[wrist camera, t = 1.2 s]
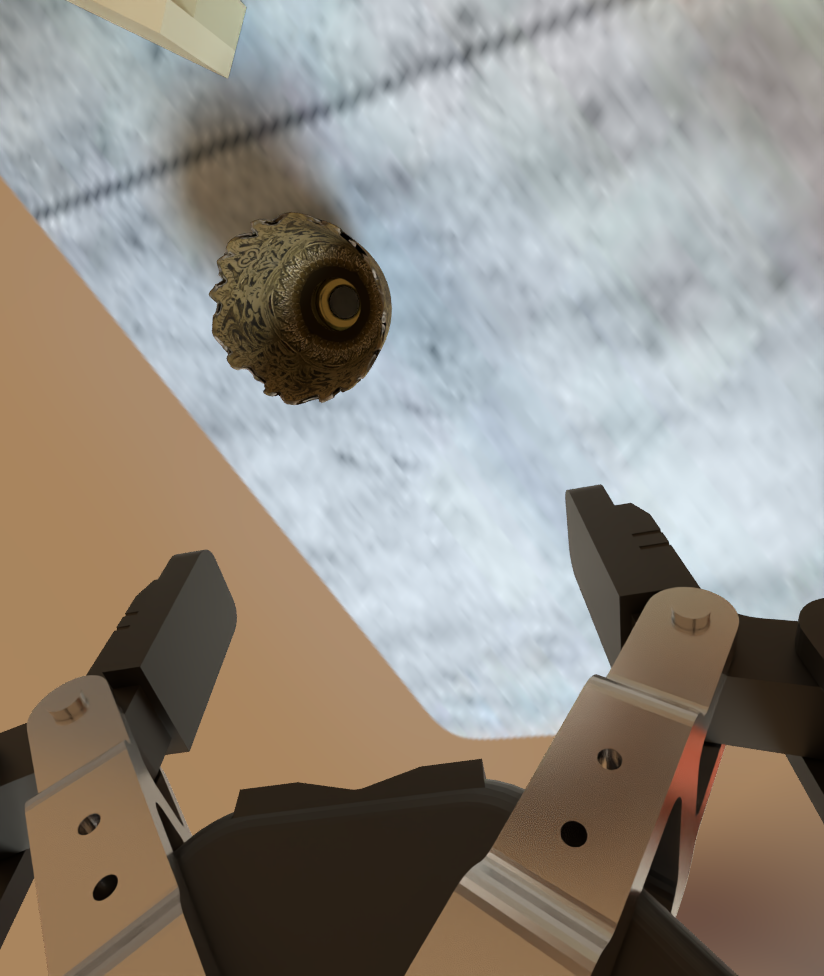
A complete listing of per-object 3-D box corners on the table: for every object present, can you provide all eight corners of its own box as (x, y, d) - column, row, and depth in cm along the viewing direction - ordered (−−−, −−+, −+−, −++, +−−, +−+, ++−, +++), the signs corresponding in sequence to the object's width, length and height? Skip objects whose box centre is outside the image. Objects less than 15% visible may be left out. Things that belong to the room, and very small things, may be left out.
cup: (250, 302, 32) (173, 314, 24) (337, 192, 29) (280, 167, 22) (350, 400, 33) (305, 439, 26) (443, 302, 30) (422, 314, 23)
